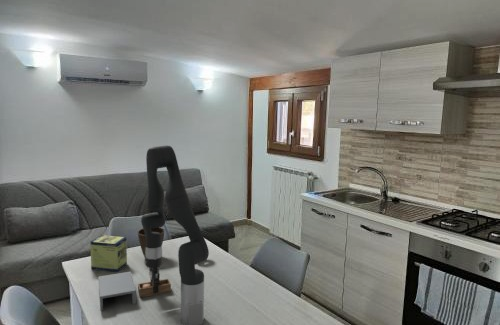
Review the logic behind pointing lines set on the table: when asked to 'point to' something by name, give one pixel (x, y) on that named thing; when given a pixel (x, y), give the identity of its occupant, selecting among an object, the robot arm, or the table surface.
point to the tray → (162, 288)
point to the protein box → (108, 253)
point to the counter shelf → (116, 286)
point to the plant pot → (143, 239)
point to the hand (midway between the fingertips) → (154, 289)
